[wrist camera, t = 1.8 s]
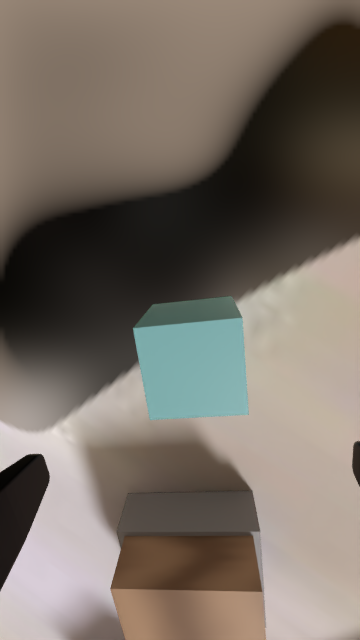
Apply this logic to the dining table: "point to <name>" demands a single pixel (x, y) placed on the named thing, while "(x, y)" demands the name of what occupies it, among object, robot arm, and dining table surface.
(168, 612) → the tan square block
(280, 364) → the dining table surface
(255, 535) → the grey square slab
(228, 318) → the teal cube
